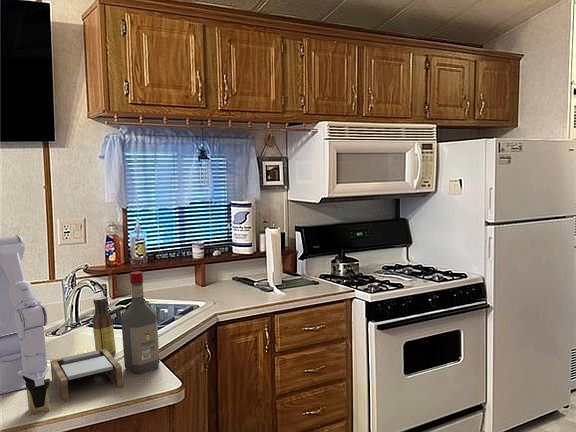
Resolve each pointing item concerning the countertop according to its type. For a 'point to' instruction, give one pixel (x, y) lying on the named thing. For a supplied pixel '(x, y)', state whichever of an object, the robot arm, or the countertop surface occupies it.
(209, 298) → the countertop surface
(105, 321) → the sauce bottle
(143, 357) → the liquor
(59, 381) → the frame
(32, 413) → the yellow wooden block
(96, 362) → the trapdoor
